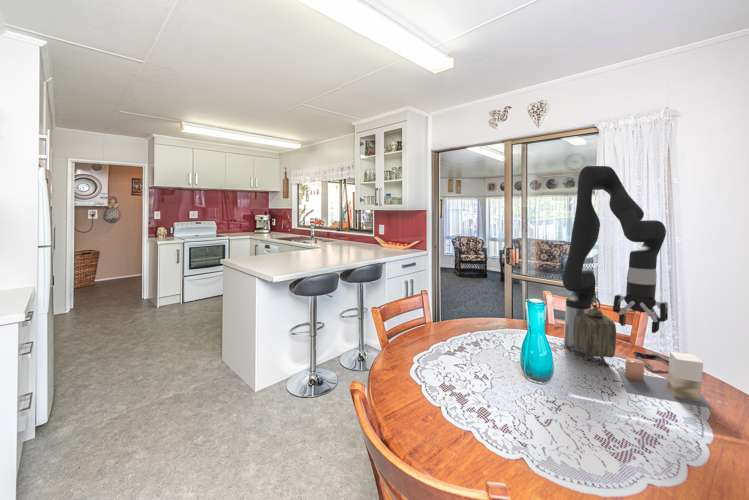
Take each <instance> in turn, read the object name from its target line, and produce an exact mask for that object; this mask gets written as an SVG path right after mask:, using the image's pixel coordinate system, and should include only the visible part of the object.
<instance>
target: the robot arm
mask: <svg viewBox="0 0 749 500" xmlns="http://www.w3.org/2000/svg"><path fill="white" fill-rule="evenodd" d="M576 190H577V191H576V193H577V194H576V207H575V214H574V219H573V225H572V230H571V239H570V245H569V248H568V254H567V259H566V263H565V266H564V270H563V274H562V285H563V287H564V289H565V290H567V291H569V292H572V294H571V295H569V296H568V297H567V298H565V299H566V300H565V314H564V328H563V330H564V331H563V333H564V334H563V344H564V346H565V347H569V348H571V349H577V350H579V348H578V347H577V346H576V345H575V343H574V319H575V316H576V315H578V314H580V313H587V312H588V311H589V310H590V309H592V304H591V299H592V298H593V297H595V295H596V282H597V281H596V275H595V274H594V272H593V271H592V270H590V269H588V268H584V263H585V261H586V258H587V256H589V254H590V253H591V251H592V250H593V248H594V247H595V245H596V244H597V242H598V238H599V234H600V230H601V229H600V228H601V221H600V218H599V216H598V213H597V212H596V210H595V207H594V205H593V191H594V190H595V191H600V190H603V191H604V192H606V193H607V194H608V195H609V196H610V197H609V203H608V204H609V209H610V210H611V212H612V214H613V215H614V216H615V218H616V219H617V220H618V221H619V223H620V225H621V229H622V233H623V235H624V237H625V238H626V239H627V240H629V241H630V242H632V243H642V245H641V246H640V247H639V248H635V249H632V250H631V251H630V253H629V259H628V260H629V261H628V270H627V275H626V291H625V296H624V295H622V294H620V293H619V294H615V295H614V299H613V305H612V311H613V312H614V313H617V314H618V323H619V324H620V326H622V327H624V326H626V323H627V321H626V320H627V314H626V313H628V312H629V311H630V310H632V312H640V313H646V314H647V316H649V317H650V319H651V320H652V322H651V333H653V334H655V333H657V332H659V331H660V323H661V322H663V323H664V322H666V321H667V320H668V319H669V313H668V311H669V310H668V309H669V307H668V306H669V304H668V303H669V302H667V301H663V302H661V301H656V291H657V290H656V289H657V288H656V287H657V277H658V276H657V263H658V256H659V253H660V251H661V248H662V245H663V244H664V241H665V239H666V234H667V231H666V230H667V229H666V226H665V224H664V223H663V222H662V221H659V220H658V219H657V220H656V219H655V220H654V219H653V220H652V219H651V220H643V218H644V215H645V212H644V210H643V209H642V207H640V206H639V204H638V203H636V201H635V200H634V199H633V198H632V197H631V195H629V193H628V192H627V190H626V188H625V187H624V184H623V183H622V181H621V180H620V177H619V176H618V174H617V172H616V171H615V169H614V168H613V167H611V166H609V165H585V166H583V167H582V168H581V170H580V171H579V173H578V179H577V189H576ZM594 300H595V299H593V301H592V302H593V303H594ZM623 301H624V302H625V303H626V305H625V306H624V307H622V309H621V303H622V302H623ZM655 306H657V309H659V311H660V313H659V314H658V313H657V311H656V310H655V309H654V308H655Z"/></svg>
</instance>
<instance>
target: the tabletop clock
mask: <svg viewBox="0 0 749 500" xmlns="http://www.w3.org/2000/svg"><path fill="white" fill-rule="evenodd" d="M593 299H594V300H596V302H597V303H598V304H594V300H593ZM592 301H593V302H592ZM591 307H592V308H591V309H590V310H589V311H588V312H587V313H580V314H578V315H576V316H575V319H574V343H575V345H576V346H577V347H578V348H579V349H578V350H579V351H580V352H582V353H583V354H585V355H586V356H584V357H583V360H585V361H589V357H599V358H600V360H601V361H602V362H603V363H604V364H603V366H604V367H605V368H609V367H610V364H609V363H608V362H606V360H605V358H614V357H615V355H616V347H617V326H616V323H615V321H614V320H613V319H611V318H610V317H609V316H607V315H605V314H603V311H602V310H600V309H601V302H600V299H599V298H597V297H596V296H594V297H593V298H592V299H591Z"/></svg>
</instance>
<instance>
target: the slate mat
mask: <svg viewBox="0 0 749 500" xmlns="http://www.w3.org/2000/svg"><path fill="white" fill-rule="evenodd" d="M617 373H618V375H619V377H620V381H621V382H622V384H623V387H624V389H625V392H626V394H627V393H628V394H632V395H638V396H643V397H649V398H655V399H659V400H665V401H671V402H676V403H681V404H687V405H691V406H697V407H704V408H707V409H714V407H713V406H712V405H711V404H710V403H709V401H708V399H706V397H704V396H703V394H702V393H700V401H694V400H689V399H683V398H678V397H673V395H672V394H671V392H670V391H669V389H668V388H667V383H668V378H664V377H658V376H653V375H646V374H644V379H643V381H642V382H636V381H632V380H629V379H627V378H626V377H625V371H622V370H617Z"/></svg>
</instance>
